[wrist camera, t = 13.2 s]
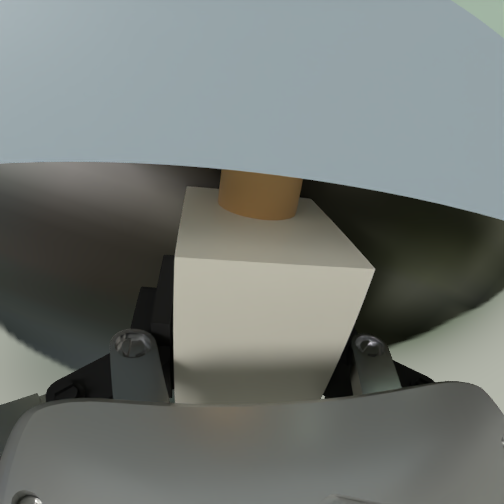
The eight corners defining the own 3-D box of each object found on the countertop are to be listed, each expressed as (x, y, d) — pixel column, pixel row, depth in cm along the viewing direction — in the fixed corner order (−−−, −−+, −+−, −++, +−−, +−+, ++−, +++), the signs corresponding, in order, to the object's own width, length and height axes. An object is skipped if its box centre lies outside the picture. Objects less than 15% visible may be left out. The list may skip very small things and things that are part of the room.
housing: (92, 43, 8) (-77, -6, 1) (420, 97, 10) (597, 141, 3) (84, 114, 9) (-96, 173, 2) (408, 155, 11) (572, 242, 4)
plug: (215, -13, 7) (225, -88, 3) (344, 14, 8) (432, -22, 4) (179, 340, 14) (176, 437, 9) (276, 342, 14) (302, 433, 10)
